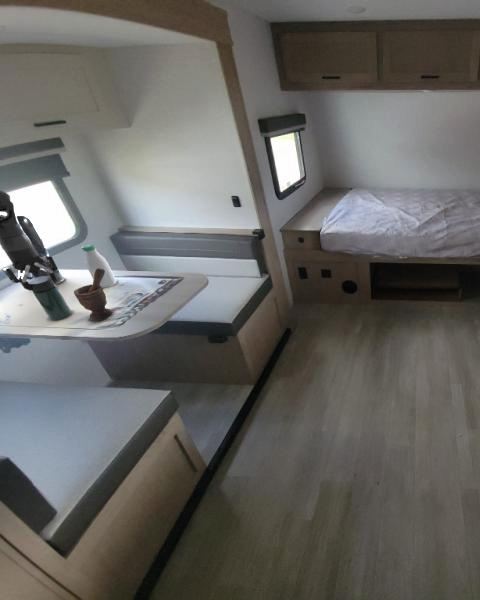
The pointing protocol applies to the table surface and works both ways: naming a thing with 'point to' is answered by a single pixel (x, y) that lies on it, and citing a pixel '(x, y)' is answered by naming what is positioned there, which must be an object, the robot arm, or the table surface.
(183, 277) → the table surface
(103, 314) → the mortar and pestle
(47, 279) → the lid
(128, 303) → the table surface
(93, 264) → the milk bottle
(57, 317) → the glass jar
